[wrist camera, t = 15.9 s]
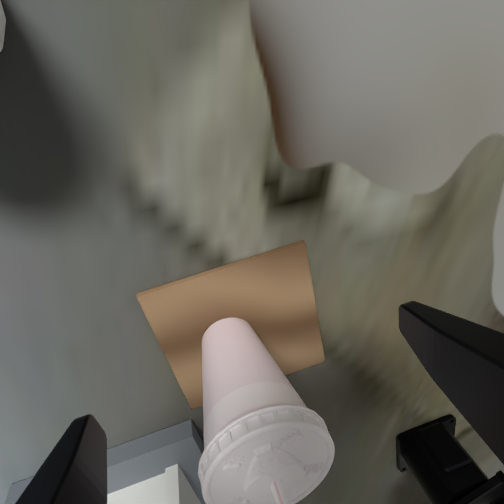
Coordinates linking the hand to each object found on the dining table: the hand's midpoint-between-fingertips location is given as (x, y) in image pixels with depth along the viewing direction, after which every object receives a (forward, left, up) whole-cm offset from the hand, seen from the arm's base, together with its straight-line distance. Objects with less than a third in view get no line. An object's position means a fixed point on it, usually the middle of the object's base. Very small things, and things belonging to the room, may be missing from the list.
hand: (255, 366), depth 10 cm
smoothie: (-9, +1, -12) cm, 15 cm away
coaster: (-9, 0, -12) cm, 15 cm away
